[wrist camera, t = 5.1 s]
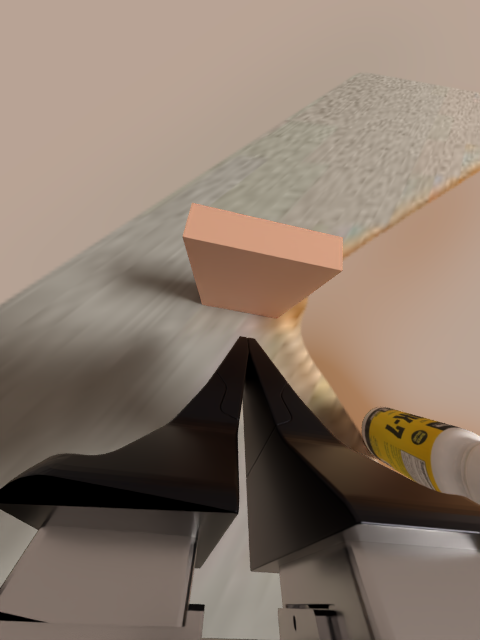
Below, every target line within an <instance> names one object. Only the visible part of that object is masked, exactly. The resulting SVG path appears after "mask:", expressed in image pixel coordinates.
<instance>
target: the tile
mask: <svg viewBox="0 0 480 640" xmlns="http://www.w3.org/2000/svg"><path fill="white" fill-rule="evenodd" d="M183 240H184V243H185V247H186V250H187V254H188V257H189V261H190V264H191V268H192V271H193V275H194V278H195V281H196V285H197V288H198V292H199V295H200V299H201V302H202V305H207V306H213V307H218V308H224V309H229V310H234V311H240V312H245V313H251V314H256V315H262V316H267V317H273V318H278V317H280V316H281V315H283V314H284V313H285V312H287V311H288V310H289V309H291V308H292V307H293V306H295V305H296V304H298V303H299V302H300V301H302V300H303V299H304V298H306V297H307V296H309V295H310V294H311V293H313V292H314V291H315V290H317V289H318V288H319V287H321V286H322V285H323V284H325V283H326V282H328V281H329V280H330V279H332V278H333V277H335V276H336V275H337V274H339V273H340V272H341V271H342V258H343V237H338V236H334V235H330V234H325V233H321V232H317V231H312V230H308V229H304V228H299V227H295V226H290V225H286V224H282V223H277V222H273V221H269V220H264V219H260V218H256V217H251V216H247V215H243V214H238V213H234V212H230V211H225V210H221V209H217V208H212V207H208V206H204V205H199V204H195V203H192V205H191V208H190V212H189V215H188V219H187V223H186V226H185V230H184V233H183Z"/></svg>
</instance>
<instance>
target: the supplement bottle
mask: <svg viewBox="0 0 480 640" xmlns="http://www.w3.org/2000/svg"><path fill="white" fill-rule="evenodd" d="M362 436H363V440H364V442H365V444H366V446H367V448H368V450H369V451H370V452H371V453H372V454H373V455H374V456H375V457H376V458H378V459H379V460H381V461H382V462H384V463H386V464H387V465H389V466H390V467H392V468H394V469H395V470H397V471H399V472H400V473H402V474H404V475H405V476H407V477H408V478H410V479H411V480H413V481H415V482H417V483H419V484H421V485H423V486H425V487H428V488H430V489H433V490H435V491H438V492H442V493H446V494H454V495H461V496H464V497H467V498H469V499H470V500H472V501H474V502H476V503H478V504H480V436H478V435H476V434H475V433H473V432H471V431H468V430H465V429H462V428H459V427H455V426H452V425H448V424H445V423H441V422H437V421H434V420H430V419H427V418H423V417H419V416H415V415H412V414H409V413H404V412H401V411H398V410H394V409H390V408H386V407H376V408H374V409H372V410H370V411H369V412H368V413H367V414H366V416H365V417H364V419H363V422H362Z"/></svg>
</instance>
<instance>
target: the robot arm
mask: <svg viewBox="0 0 480 640" xmlns="http://www.w3.org/2000/svg"><path fill="white" fill-rule="evenodd" d="M242 398H243V419H244V441H245V462H246V478H247V479H246V485H247V507H248V529H249V550H250V569H251V571H252V572H268V573H279V575H280V585H281V595H282V606H283V608H278V621H279V633H280V640H480V504H478V503H476V502H474V501H472V500H470V499H469V498H467V497H464V496H461V495H454V494H446V493H442V492H438V491H435V490H433V489H430V488H428V487H425V486H423V485H421V484H419V483H417V482H414V481H412V480H410V479H408V478H406V477H404V476H403V475H401V474H398V473H397V472H395V471H393V470H391V469H389V468H387V467H385V466H383V465H381V464H379V463H377V462H375V461H373V460H371V459H369V458H367V457H365V456H364V455H362V454H360V453H358V452H356V451H354V450H352V449H350V448H348V447H347V446H345V445H344V444H342V443H341V442H340V441H339V440H338V439H336V438H335V437H334V436H333V435H332V434H331V433H330V431H329V430H328V429H327V428H326V427H325V426H324V425H323V424H322V423H321V421H320V420H319V419H318V418H317V417H316V416H315V415H314V414H313V413H312V411H311V410H310V409H309V408H308V407H307V406H306V405H305V404H304V402H303V401H302V400H301V399H300V398H299V396H298V395H297V394H296V393H295V391H294V390H293V389H292V388H291V386H290V385H289V384H288V383H287V381H286V380H285V378H284V377H283V376H282V374H281V373H280V372H279V370H278V369H277V368H276V366H275V365H274V364H273V362H272V361H271V360H270V358H269V357H268V356H267V354H266V353H265V352H264V350H263V349H262V348H261V346H260V345H259V344H258V342H257V341H256V340H255V339H253V338H247V337H242V336H240V337H239V338H238V340H237V341H236V343H235V344H234V346H233V347H232V349H231V350H230V351H229V353H228V354H227V356H226V357H225V359H224V360H223V361H222V363H221V364H220V366H219V367H218V369H217V370H216V372H215V373H214V374H213V376H212V377H211V378H210V380H209V381H208V382H207V384H206V385H205V386H204V387H203V388H202V390H201V391H200V392H199V393H198V394H197V395H196V396H195V397H194V398H193V399H192V400H191V401H190V402H189V404H188V405H187V406H186V407H185V408H184V409H183V410H182V411H181V412H180V413H179V414H178V415H177V416H176V417H175V418H174V419H173V420H172V421H170V422H169V423H168V424H166V425H165V426H163V427H161V428H159V429H157V430H155V431H153V432H151V433H150V434H148V435H146V436H144V437H142V438H140V439H138V440H136V441H134V442H132V443H130V444H128V445H126V446H124V447H122V448H120V449H118V450H116V451H113V452H110V453H106V454H101V455H80V454H67V453H66V454H58V455H54V456H51V457H49V458H47V459H45V460H43V461H42V462H40V463H38V464H36V465H35V466H33V467H31V468H29V469H28V470H26V471H24V472H23V473H21V474H20V475H18V476H17V477H15V478H14V479H13V480H11V481H10V482H9V483H7V484H6V485H5V486H4V487H3V488H1V489H0V509H1V510H3V511H5V512H6V513H8V514H10V515H12V516H14V517H16V518H17V519H19V520H21V521H23V522H25V523H27V524H28V525H30V526H32V527H34V528H36V529H37V530H38V531H37V533H36V534H35V536H34V537H33V539H32V540H31V542H30V543H29V545H28V546H27V548H26V550H25V551H24V553H23V554H22V556H21V557H20V559H19V560H18V562H17V563H16V565H15V566H14V568H13V569H12V571H11V572H10V574H9V575H8V577H7V578H6V580H5V581H4V583H3V584H2V586H1V588H0V640H256V639H219V638H202V628H203V618H204V606H205V605H201V604H189V602H190V595H191V588H192V581H193V574H194V568H201V566H202V565H203V564H204V562H205V561H206V559H207V558H208V556H209V555H210V553H211V552H212V551H213V549H214V548H215V546H216V545H217V543H218V542H219V540H220V539H221V538H222V536H223V535H224V533H225V532H226V530H227V529H228V528H229V526H230V525H231V523H232V522H233V520H234V519H235V517H236V516H237V515H238V512H239V469H238V427H239V419H240V412H241V405H242Z"/></svg>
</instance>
